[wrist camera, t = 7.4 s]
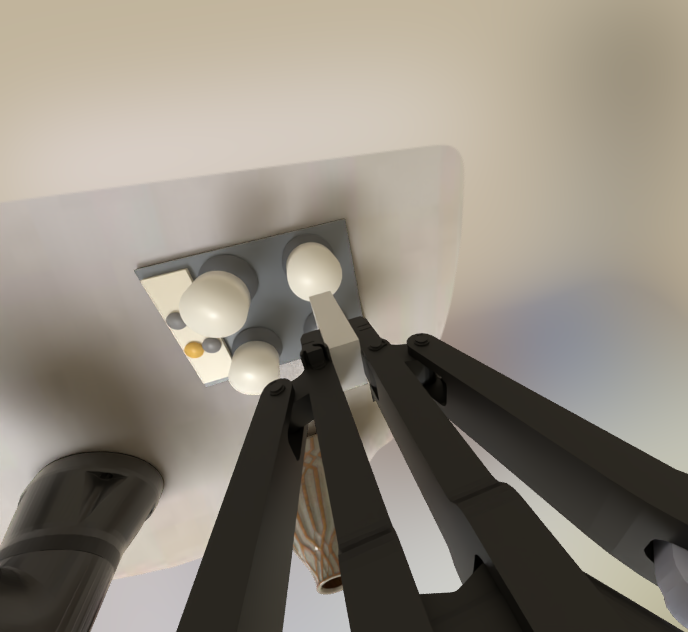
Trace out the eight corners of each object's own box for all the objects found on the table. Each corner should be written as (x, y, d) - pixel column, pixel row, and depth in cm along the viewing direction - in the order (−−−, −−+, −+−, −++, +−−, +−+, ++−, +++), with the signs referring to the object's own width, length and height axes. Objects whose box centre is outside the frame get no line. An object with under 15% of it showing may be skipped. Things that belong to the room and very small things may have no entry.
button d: (293, 290, 29) (296, 307, 25) (279, 245, 27) (279, 256, 23) (336, 278, 30) (346, 293, 26) (326, 233, 28) (336, 242, 23)
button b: (210, 319, 27) (197, 344, 22) (185, 272, 24) (166, 291, 20) (259, 305, 27) (256, 328, 23) (240, 258, 25) (233, 273, 20)
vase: (267, 431, 40) (262, 582, 25) (349, 410, 42) (390, 537, 27) (285, 480, 46) (289, 626, 31) (355, 460, 48) (392, 586, 33)
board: (207, 384, 34) (204, 392, 32) (136, 268, 26) (129, 273, 25) (365, 336, 36) (368, 342, 35) (343, 218, 28) (347, 220, 27)
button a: (244, 372, 33) (239, 400, 28) (228, 339, 30) (219, 364, 26) (284, 360, 33) (285, 386, 29) (271, 327, 31) (270, 349, 26)
